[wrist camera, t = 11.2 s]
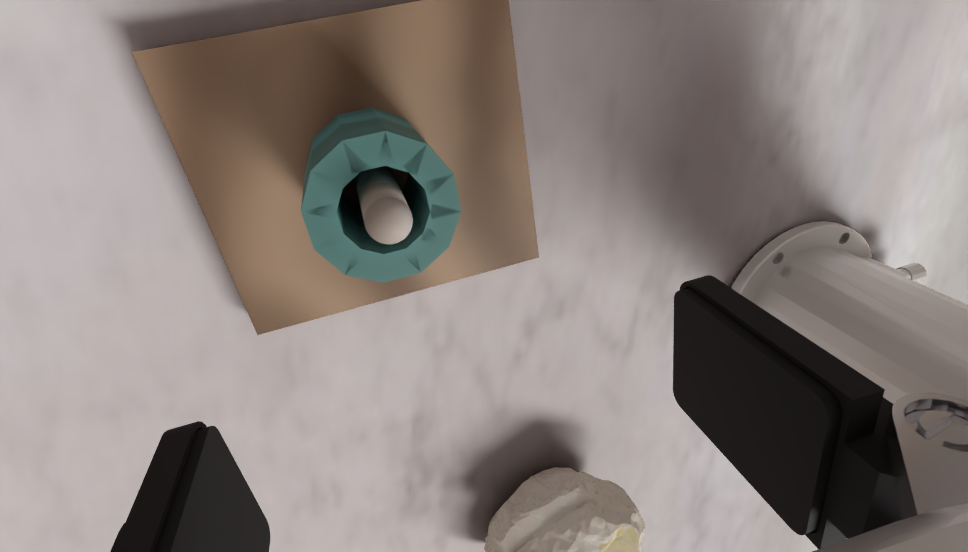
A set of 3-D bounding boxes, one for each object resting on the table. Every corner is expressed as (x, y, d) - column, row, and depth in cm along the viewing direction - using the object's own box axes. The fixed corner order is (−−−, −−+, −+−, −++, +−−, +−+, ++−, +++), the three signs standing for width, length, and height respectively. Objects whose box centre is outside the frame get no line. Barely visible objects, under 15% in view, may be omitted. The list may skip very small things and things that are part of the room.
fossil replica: (452, 546, 42) (552, 539, 46) (485, 660, 35) (599, 639, 40) (512, 437, 37) (618, 442, 42) (564, 545, 30) (682, 537, 35)
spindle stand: (496, -14, 25) (581, -30, 17) (530, 247, 32) (602, 326, 23) (142, 50, 22) (40, 67, 14) (260, 320, 29) (237, 437, 21)
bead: (417, 97, 25) (443, 117, 20) (442, 214, 28) (470, 258, 22) (289, 125, 24) (280, 154, 18) (328, 243, 27) (331, 297, 21)
